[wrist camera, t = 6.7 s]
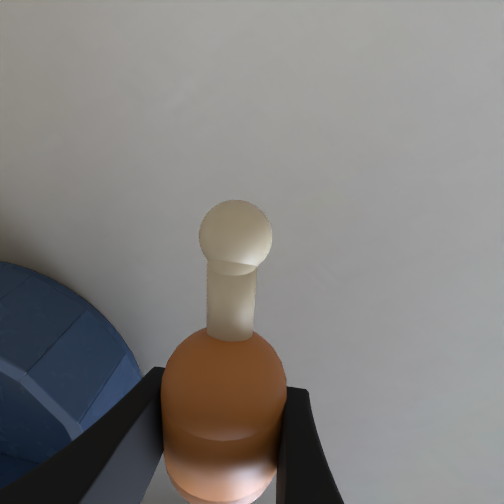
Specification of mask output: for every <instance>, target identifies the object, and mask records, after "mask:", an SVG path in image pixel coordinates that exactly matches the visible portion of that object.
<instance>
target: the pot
mask: <svg viewBox="0 0 504 504" xmlns="http://www.w3.org/2000/svg"><path fill="white" fill-rule="evenodd" d="M141 379H142V376H141V373H140V370H139V367H138V365H137V363H136V361H135V359H134V356H133V354H132V353H131V351H130V349H129V348H128V346H127V345H126V343H125V342H124V340H123V338H122V337H121V336H120V335H119V333H118V332H117V331H116V330H115V328H114V327H113V326H112V325H111V324H110V323H109V322H108V321H107V320H106V319H105V318H104V317H103V316H102V315H101V314H100V313H99V312H98V311H97V310H96V309H95V308H94V307H93V306H91V305H90V304H89V303H88V302H87V301H85V300H84V299H83V298H82V297H80V296H79V295H77V294H76V293H74V292H73V291H71V290H70V289H68V288H67V287H65V286H63V285H62V284H60V283H58V282H56V281H54V280H52V279H51V278H49V277H47V276H44V275H42V274H40V273H37V272H35V271H32V270H30V269H27V268H24V267H21V266H17V265H14V264H11V263H6V262H1V261H0V489H2V488H3V487H5V486H7V485H9V484H10V483H12V482H14V481H15V480H17V479H18V478H20V477H22V476H23V475H25V474H26V473H28V472H29V471H31V470H32V469H34V468H35V467H37V466H38V465H40V464H41V463H43V462H44V461H46V460H47V459H49V458H50V457H51V456H53V455H54V454H56V453H57V452H58V451H60V450H61V449H62V448H64V447H65V446H66V445H68V444H69V443H70V442H72V441H73V440H74V439H76V438H77V437H78V436H79V435H81V434H82V433H83V432H84V431H85V430H87V429H88V428H89V427H90V426H91V425H93V424H94V423H95V422H96V421H97V420H98V419H100V418H101V417H102V416H103V415H104V414H105V413H107V412H108V411H109V410H110V409H111V408H112V407H113V406H114V405H115V404H116V403H117V402H118V401H120V400H121V399H122V398H123V397H124V396H125V395H126V394H127V393H128V392H129V391H130V390H131V389H132V388H133V387H134V386H135V385H136V384H137V383H138V382H139V381H140V380H141Z"/></svg>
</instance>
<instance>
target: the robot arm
mask: <svg viewBox="0 0 504 504" xmlns="http://www.w3.org/2000/svg"><path fill="white" fill-rule="evenodd" d="M164 371H165V368H162V367H154V368H152V369H151V370H150V371H149V372H148V373H147V374H146V375H145V376H144V377H143V378H142V379H141V380H140V381H139V382H138V383H137V384H136V385H135V386H134V387H133V388H132V389H131V390H130V391H129V392H128V393H127V394H126V395H125V396H124V397H123V398H122V399H121V400H120V401H118V402H117V403H116V404H115V405H114V406H113V407H112V408H111V409H110V410H109V411H108V412H107V413H105V414H104V415H103V416H102V417H101V418H100V419H98V420H97V421H96V422H95V423H94V424H93V425H91V426H90V427H89V428H88V429H87V430H85V431H84V432H83V433H82V434H81V435H79V436H78V437H77V438H76V439H74V440H73V441H72V442H70V443H69V444H68V445H66V446H65V447H64V448H62V449H61V450H60V451H58V452H57V453H56V454H54V455H53V456H51V457H50V458H49V459H47V460H46V461H44V462H43V463H41V464H40V465H38V466H37V467H35V468H34V469H32V470H31V471H29V472H28V473H26V474H25V475H23V476H22V477H20V478H18V479H17V480H15V481H14V482H12V483H10V484H9V485H7V486H5V487H3V488H2V489H0V504H140V503H141V501H142V498H143V496H144V494H145V492H146V490H147V487H148V485H149V483H150V481H151V478H152V476H153V474H154V472H155V469H156V467H157V465H158V463H159V460H160V458H161V456H162V453H163V451H164V445H163V428H162V411H161V385H162V376H163V373H164ZM276 504H344V502H343V500H342V498H341V495H340V493H339V491H338V488H337V486H336V484H335V481H334V479H333V476H332V474H331V471H330V469H329V466H328V463H327V461H326V458H325V455H324V452H323V449H322V446H321V443H320V440H319V437H318V433H317V430H316V426H315V423H314V419H313V415H312V410H311V405H310V398H309V392H308V391H307V390H306V389H301V388H294V387H288V386H287V399H286V402H285V405H284V413H283V421H282V429H281V437H280V446H279V454H278V462H277V484H276Z"/></svg>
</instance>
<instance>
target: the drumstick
mask: <svg viewBox="0 0 504 504" xmlns="http://www.w3.org/2000/svg"><path fill="white" fill-rule="evenodd" d="M199 243H200V247H201V250H202V252H203V254H204V256H205V257H206V259H207V328H203V329H201V330H199V331H196V332H195V333H193V334H192V335H190V336H189V337H187V338H186V339H185V340H184V341H183V342H182V343H181V344H180V345H179V346H178V347H177V348H176V350H175V351H174V352H173V354H172V355H171V357H170V358H169V360H168V362H167V365H166V368H165V371H164V373H163V376H162V385H161V411H162V428H163V445H164V458H165V463H166V468H167V473H168V475H169V477H170V480H171V482H172V484H173V485H174V487H175V488H176V490H177V491H178V492H179V494H180V495H181V496H182V497H183V498H184V499H185V500H186V501H188V502H189V503H191V504H250V503H252V502H253V501H255V500H256V499H257V498H258V497H259V496H260V495H261V494H262V493H263V492H264V490H265V489H266V488H267V486H268V485H269V484H270V482H271V480H272V478H273V476H274V474H275V471H276V468H277V462H278V454H279V446H280V437H281V429H282V421H283V413H284V405H285V402H286V399H287V385H286V376H285V372H284V369H283V365H282V362H281V360H280V359H279V357H278V355H277V354H276V352H275V350H274V349H273V347H272V346H271V345H270V344H269V343H268V342H267V341H266V340H265V339H264V338H263V337H261V336H260V335H258V334H257V333H255V332H253V322H254V307H255V293H256V278H257V266H258V265H259V264H261V263H262V261H263V260H264V259H265V258H266V256H267V255H268V253H269V251H270V248H271V244H272V229H271V225H270V222H269V220H268V218H267V217H266V215H265V214H264V213H263V212H262V211H261V210H260V209H259V208H258V207H257V206H255V205H253V204H252V203H249V202H246V201H242V200H229V201H225V202H222V203H220V204H218V205H216V206H215V207H213V208H212V209H211V210H210V211H209V212H208V213H207V214H206V216H205V217H204V219H203V221H202V223H201V226H200V230H199Z"/></svg>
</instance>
